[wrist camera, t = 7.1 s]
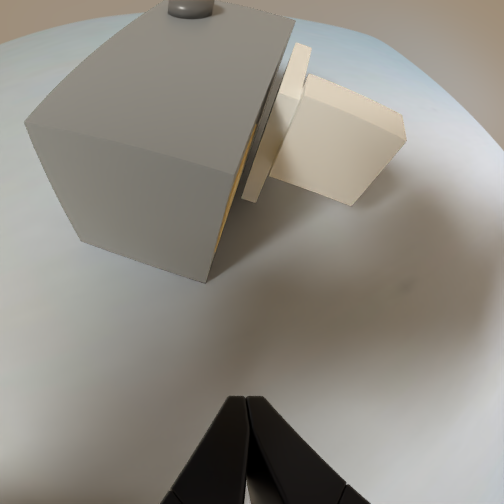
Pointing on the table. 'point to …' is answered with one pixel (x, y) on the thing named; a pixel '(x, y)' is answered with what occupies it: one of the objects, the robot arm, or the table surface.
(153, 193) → the block
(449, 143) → the table surface
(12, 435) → the table surface
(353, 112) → the cream l-shaped bracket
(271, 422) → the robot arm
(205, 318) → the table surface
